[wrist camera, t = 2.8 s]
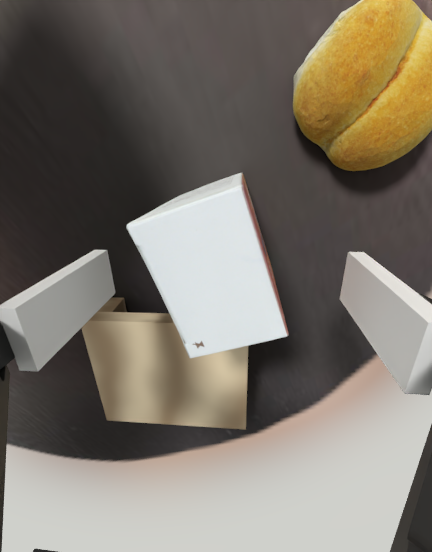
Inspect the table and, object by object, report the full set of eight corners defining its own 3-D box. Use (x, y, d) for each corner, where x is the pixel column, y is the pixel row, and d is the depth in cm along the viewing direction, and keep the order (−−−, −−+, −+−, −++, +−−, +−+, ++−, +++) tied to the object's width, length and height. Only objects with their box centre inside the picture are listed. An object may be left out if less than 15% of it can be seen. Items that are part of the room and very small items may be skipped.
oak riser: (123, 389, 31) (106, 420, 27) (102, 297, 26) (79, 320, 22) (245, 395, 29) (245, 429, 26) (247, 300, 24) (248, 325, 21)
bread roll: (358, 190, 20) (384, 198, 16) (270, 106, 18) (276, 93, 15) (463, 85, 17) (523, 66, 13) (369, -28, 15) (408, -85, 12)
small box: (271, 264, 23) (292, 340, 13) (210, 281, 24) (189, 363, 14) (243, 169, 20) (245, 180, 10) (176, 194, 21) (121, 225, 12)
